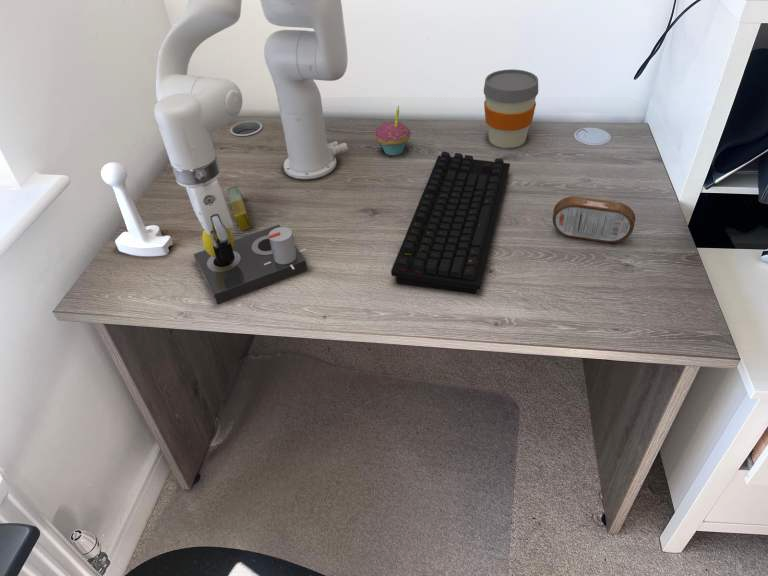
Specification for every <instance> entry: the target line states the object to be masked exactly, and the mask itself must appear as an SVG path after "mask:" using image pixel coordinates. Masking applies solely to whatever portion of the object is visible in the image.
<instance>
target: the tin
mask: <svg viewBox="0 0 768 576" xmlns="http://www.w3.org/2000/svg"><path fill="white" fill-rule="evenodd" d="M635 223H636V215H635V212H634V210H633V209H632V208H631V207H630V206H629V205H627V204H626V203H623V202H621V201H615V200H607V199H601V198H600V199H599V198H593V197H586V196H578V195H573V196H567V197H564V198H562V199H560V200H559V201H558V202H556V204H555V205H554V208H553V211H552V224H553V226H554V228H555V230H556V231H557V232H559V234H561V235H563V236H566V237H568V238H573V239H574V238H575V239H581V240H587V241H594V242H600V243H606V244H616V243H620V242H623V241H625V240H627V239H628V238H629V237H630V236H631V235H632V233H633V231H634V229H635Z"/></svg>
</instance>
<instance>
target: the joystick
mask: <svg viewBox="0 0 768 576" xmlns="http://www.w3.org/2000/svg"><path fill="white" fill-rule="evenodd" d="M100 175H101V178H102V180H103V182H104V183H105V184H107V185H108V186H110V187H111V188H112V189H113V193H114V196H115V198H116V201H117V204H118V206H119V209H120V212H121V215H122V218H123V221H124V224H125V226H126V229H127V231H122V233H120V234H119V236H118V237H117V238H116V239H115V240H114V243H115V246H116V247H117V250H118V252H121V253H124V254H127V255H130V256H135V257H160V256H161V257H162V256H166V255H168V254H169V252H170V250H169V247H172V246H173V245H174V243H173V240H172V237H171V236H170V235H163V234H162V232H161V229H160V227H159V226H158V225H156V224H151V225H147V226H145V223H144V221H143V219H142V217H141V216H140V215H141V214H140V213H139V211H138V209H137V207H136V205H135V202H134V200H133V198H132V196H131V194H130V191H129V189H128V187H127V185H126V181H127V179H128V172H127V169H126V167H125V166H124V165H123V164H122V163H119V162H117V161H109V162H107V163H105V164H104V165H103V166H102V168H101V171H100Z"/></svg>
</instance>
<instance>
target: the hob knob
mask: <svg viewBox="0 0 768 576" xmlns="http://www.w3.org/2000/svg"><path fill="white" fill-rule="evenodd" d="M268 236H269V241H270V245H271V249H272V254H273V258H274V261H275V262H276V263H278V264H288V263H291V262H293V261H294V260H295V259H296V257H297V254H296V249H295V246H296V244H295V240H294V235H293V230H292V229H291V228H289V227H286V226H281V227H278V228H275V229H273V230H272V231H270V233H269V235H268Z"/></svg>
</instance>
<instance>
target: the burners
mask: <svg viewBox="0 0 768 576" xmlns="http://www.w3.org/2000/svg"><path fill="white" fill-rule="evenodd" d="M252 250H253V252H254V253H256V254H258V255H271V254H272V249H271V245H270V241H269V236H268V235H266V236H263V237H260V238H258V239H257V240H255V241H254V242H253V244H252ZM233 253H234V256H235V259H234V260H231V261H228V262H225V263H223V264H218V262H217V259H216V258H215V257H212V256H211V257H210V258H209V259H208V261H207V266H208V268H209V269H211V270H213V271H217V272H222V271H227V270H230V269H232V268H234V267H235V266H237V265H238V264H239V262H240V260H241V257H240V254H239V253H237V252H236V251H233Z"/></svg>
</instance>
